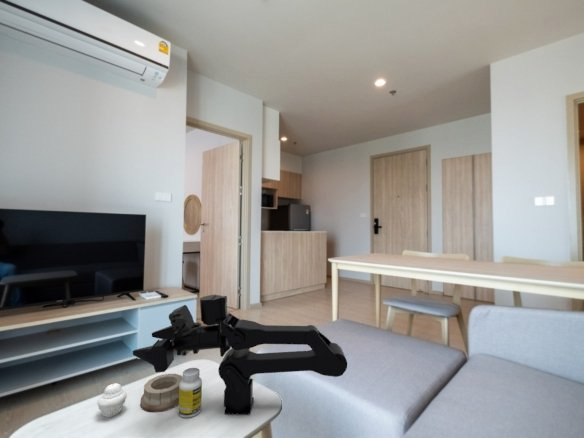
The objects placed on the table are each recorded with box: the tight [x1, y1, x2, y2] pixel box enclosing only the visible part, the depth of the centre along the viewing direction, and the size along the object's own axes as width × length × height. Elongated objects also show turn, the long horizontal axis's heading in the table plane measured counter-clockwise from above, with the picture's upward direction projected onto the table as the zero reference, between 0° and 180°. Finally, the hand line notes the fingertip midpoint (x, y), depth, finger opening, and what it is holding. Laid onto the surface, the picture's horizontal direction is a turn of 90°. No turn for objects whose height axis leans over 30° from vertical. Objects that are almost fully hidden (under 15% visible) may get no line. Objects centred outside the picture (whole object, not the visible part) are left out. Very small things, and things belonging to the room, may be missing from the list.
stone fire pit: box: [140, 373, 183, 413], centre depth 74 cm, size 11×11×4 cm
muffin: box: [96, 382, 128, 418], centre depth 68 cm, size 6×6×7 cm
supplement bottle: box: [177, 367, 203, 419], centre depth 69 cm, size 5×5×10 cm
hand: (143, 343), depth 72 cm, fingers open, 9 cm apart
